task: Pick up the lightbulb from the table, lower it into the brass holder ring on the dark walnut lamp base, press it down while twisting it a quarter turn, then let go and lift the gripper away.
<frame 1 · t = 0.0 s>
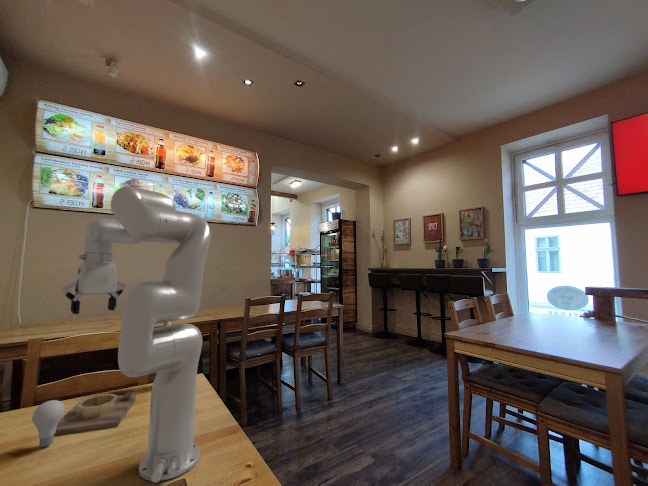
hand: (94, 311, 93), 31 cm above the table, tool pointing down, fingers open, 9 cm apart
holder ring: (97, 405, 89), point 2 cm above the table
liquor: (164, 386, 111), on the table
lamp base: (97, 416, 88), on the table
lightbulb: (45, 447, 73), on the table
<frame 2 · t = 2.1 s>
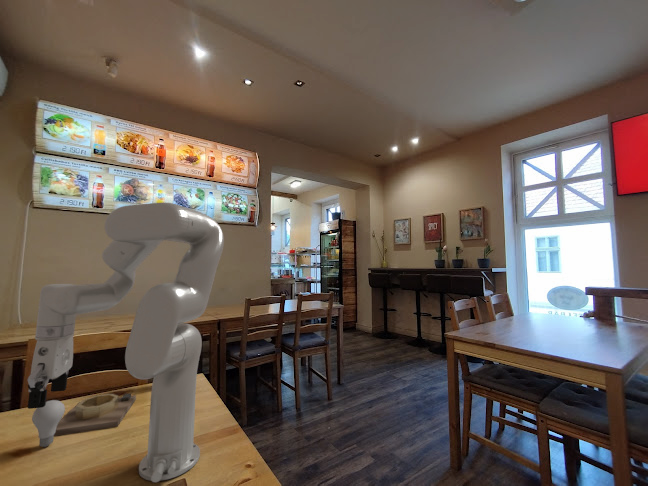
hand: (48, 398, 74), 12 cm above the table, tool pointing down, fingers open, 9 cm apart
nothing on the table moved.
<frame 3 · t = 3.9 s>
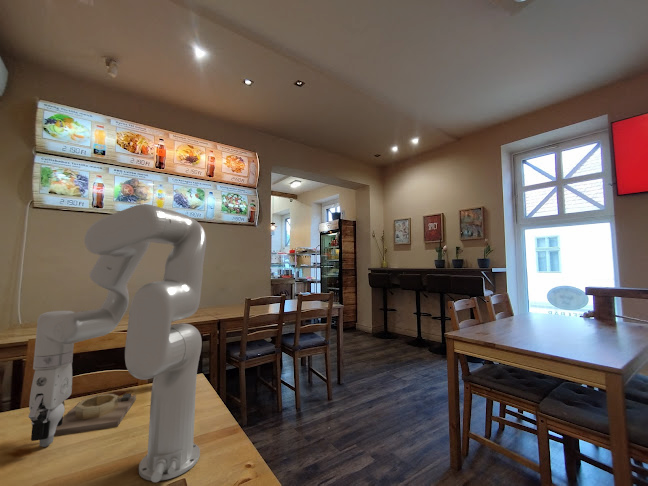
hand: (47, 431, 74), 4 cm above the table, tool pointing down, fingers closed on lightbulb, 5 cm apart
lightbulb: (46, 447, 73), on the table, touching gripper
everything else where it was.
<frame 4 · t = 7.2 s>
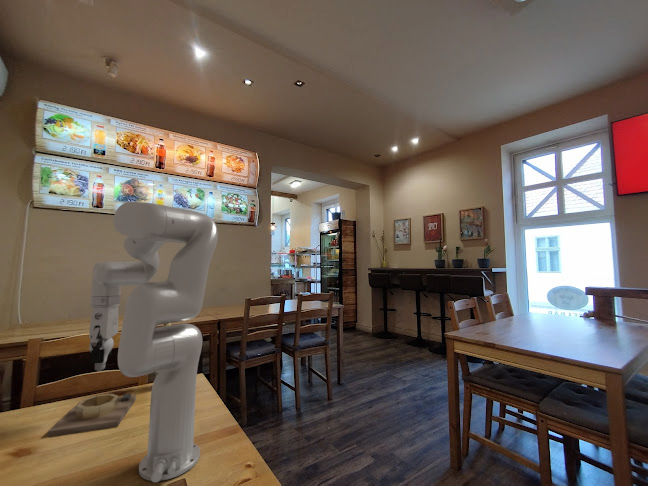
hand: (101, 359, 90), 17 cm above the table, tool pointing down, fingers closed on lightbulb, 5 cm apart
lightbulb: (99, 371, 89), point 13 cm above the table, touching gripper
everything else where it was.
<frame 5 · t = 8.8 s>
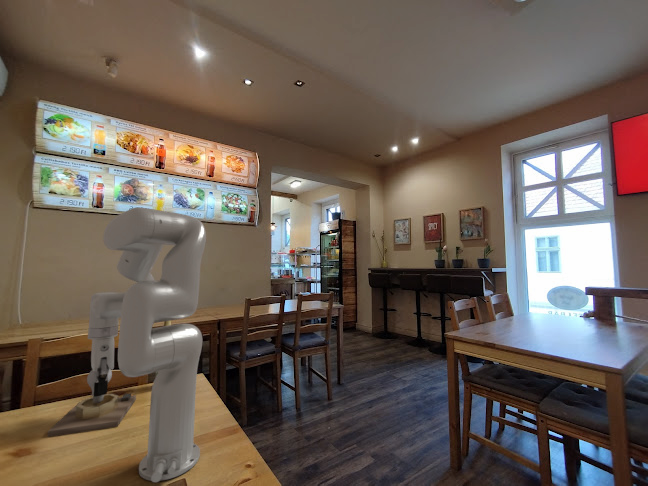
hand: (99, 391, 89), 7 cm above the table, tool pointing down, fingers closed on lightbulb, 5 cm apart
lightbulb: (97, 404, 88), point 4 cm above the table, touching gripper
everything else where it was.
when the fingers open (5 cm above the table, at t = 10.4 s): lightbulb stays where it is, resting on lamp base.
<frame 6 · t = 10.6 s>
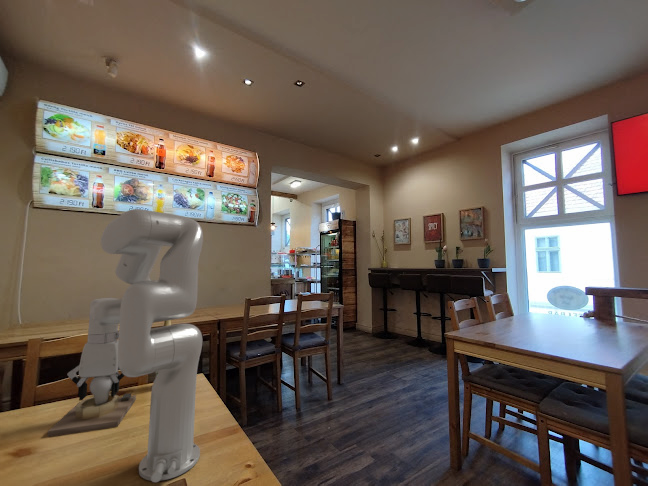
hand: (98, 396, 89), 6 cm above the table, tool pointing down, fingers open, 7 cm apart
lightbulb: (100, 411, 89), point 1 cm above the table, touching gripper, lamp base
everything else where it was.
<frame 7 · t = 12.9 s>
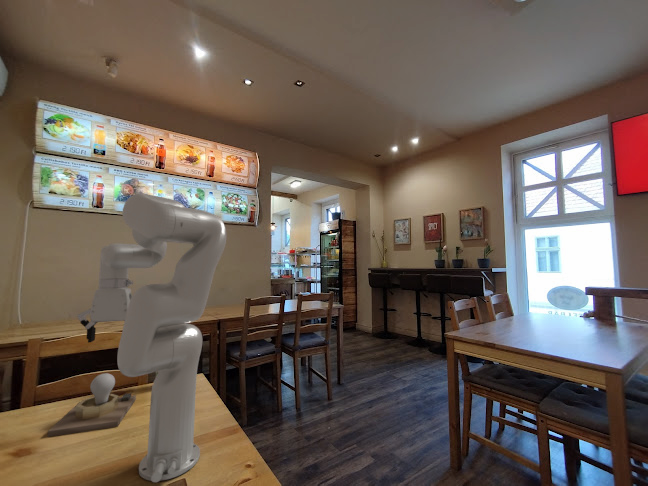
hand: (110, 340, 90), 23 cm above the table, tool pointing down, fingers open, 9 cm apart
lightbulb: (100, 411, 89), point 1 cm above the table, touching lamp base
everything else where it was.
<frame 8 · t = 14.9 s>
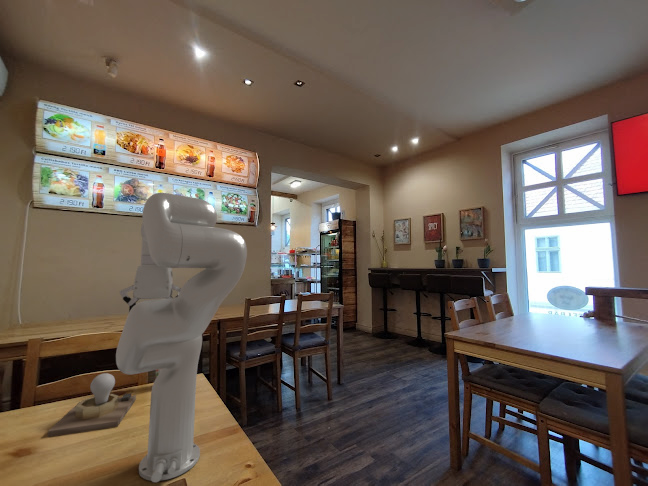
hand: (151, 317, 88), 30 cm above the table, tool pointing down, fingers open, 9 cm apart
nothing on the table moved.
at the end: lightbulb 1.0 cm off-centre on the holder ring, point 1.3 cm above the holder ring's base; lightbulb tilted 0°; the gripper is holding nothing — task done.
